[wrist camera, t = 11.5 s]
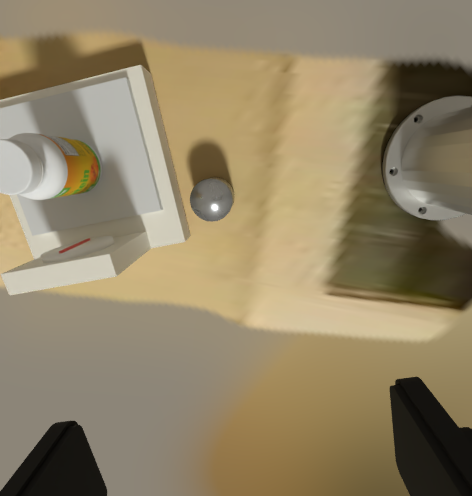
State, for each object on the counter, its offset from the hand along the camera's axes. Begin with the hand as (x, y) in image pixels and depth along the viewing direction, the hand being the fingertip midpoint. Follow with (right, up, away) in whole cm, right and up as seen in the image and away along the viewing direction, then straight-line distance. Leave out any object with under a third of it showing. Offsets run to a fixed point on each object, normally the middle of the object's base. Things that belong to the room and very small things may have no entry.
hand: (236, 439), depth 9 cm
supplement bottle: (-16, +14, +23) cm, 31 cm away
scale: (-16, +14, +26) cm, 34 cm away
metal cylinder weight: (-2, +12, +26) cm, 29 cm away
